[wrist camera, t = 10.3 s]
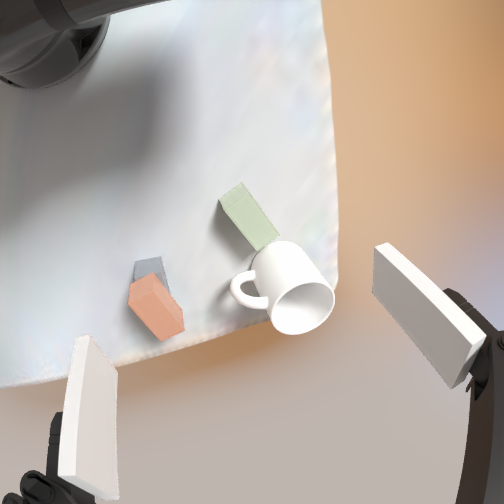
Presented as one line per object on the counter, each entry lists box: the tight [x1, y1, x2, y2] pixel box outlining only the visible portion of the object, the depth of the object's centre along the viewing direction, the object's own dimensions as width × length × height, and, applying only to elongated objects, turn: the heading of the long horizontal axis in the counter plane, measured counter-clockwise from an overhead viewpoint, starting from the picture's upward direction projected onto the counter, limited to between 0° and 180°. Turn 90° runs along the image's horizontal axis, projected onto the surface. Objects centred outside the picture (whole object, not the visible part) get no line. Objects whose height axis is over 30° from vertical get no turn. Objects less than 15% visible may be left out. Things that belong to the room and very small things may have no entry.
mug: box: [230, 241, 335, 335], centre depth 41 cm, size 12×8×10 cm
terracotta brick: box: [128, 272, 185, 341], centre depth 37 cm, size 7×4×4 cm, turn 24°
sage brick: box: [219, 182, 280, 251], centre depth 39 cm, size 7×4×4 cm, turn 34°
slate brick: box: [134, 257, 171, 295], centre depth 41 cm, size 7×4×4 cm, turn 5°
